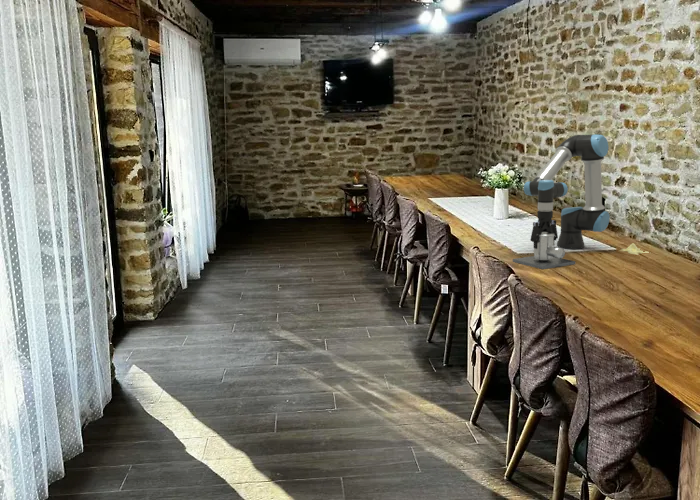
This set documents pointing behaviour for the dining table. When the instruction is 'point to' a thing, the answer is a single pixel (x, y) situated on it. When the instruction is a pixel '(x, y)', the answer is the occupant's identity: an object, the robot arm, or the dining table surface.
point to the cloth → (633, 249)
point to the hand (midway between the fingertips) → (543, 253)
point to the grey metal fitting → (548, 247)
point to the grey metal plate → (543, 262)
